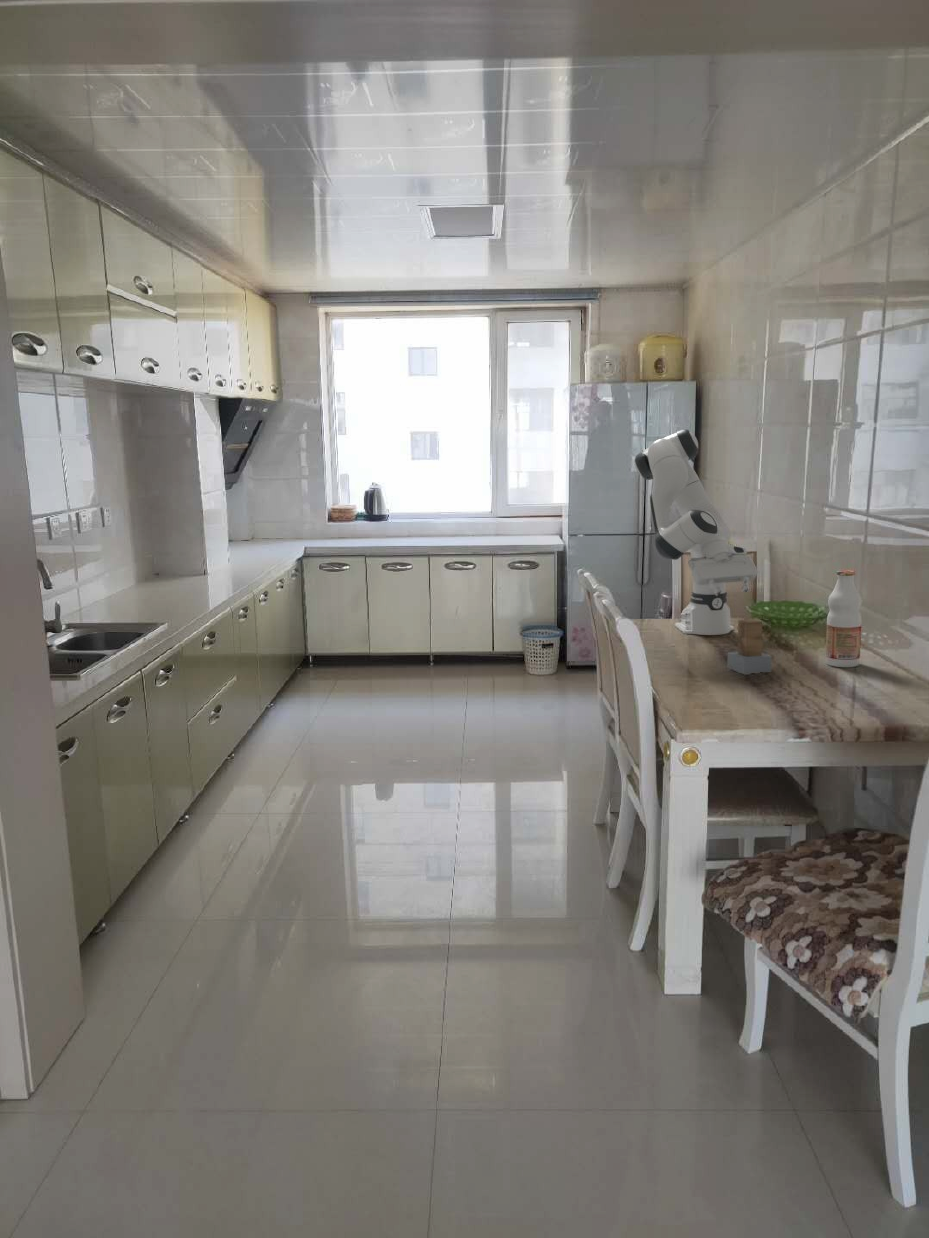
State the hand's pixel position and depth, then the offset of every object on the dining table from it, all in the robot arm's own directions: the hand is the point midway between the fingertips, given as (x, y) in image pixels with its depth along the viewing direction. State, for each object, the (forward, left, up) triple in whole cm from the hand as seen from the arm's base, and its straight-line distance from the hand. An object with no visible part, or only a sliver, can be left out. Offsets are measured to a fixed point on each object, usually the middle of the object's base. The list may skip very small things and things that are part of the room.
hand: (732, 592), depth 274 cm
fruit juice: (+16, +27, -22) cm, 38 cm away
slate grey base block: (+12, -1, -22) cm, 25 cm away
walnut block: (+12, -1, -17) cm, 20 cm away
